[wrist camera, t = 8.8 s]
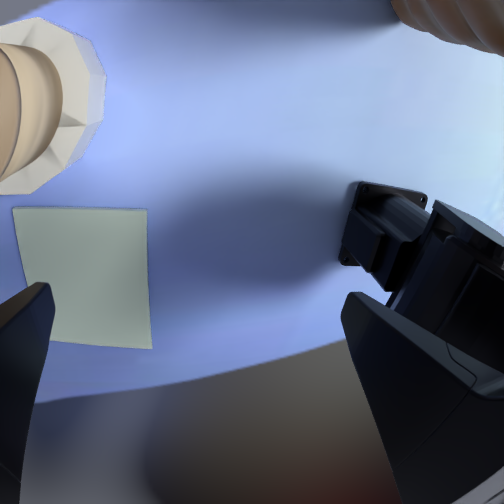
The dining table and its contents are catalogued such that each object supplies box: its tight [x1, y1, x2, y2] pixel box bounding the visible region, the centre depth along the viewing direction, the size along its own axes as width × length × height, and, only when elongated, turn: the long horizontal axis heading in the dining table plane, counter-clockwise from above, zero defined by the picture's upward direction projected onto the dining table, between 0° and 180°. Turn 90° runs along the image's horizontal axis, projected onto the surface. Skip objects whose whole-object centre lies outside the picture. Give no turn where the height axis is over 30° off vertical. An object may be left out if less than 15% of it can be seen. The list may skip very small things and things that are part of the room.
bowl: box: [0, 17, 107, 195], centre depth 13 cm, size 10×10×3 cm
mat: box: [12, 207, 152, 349], centre depth 21 cm, size 10×12×1 cm
